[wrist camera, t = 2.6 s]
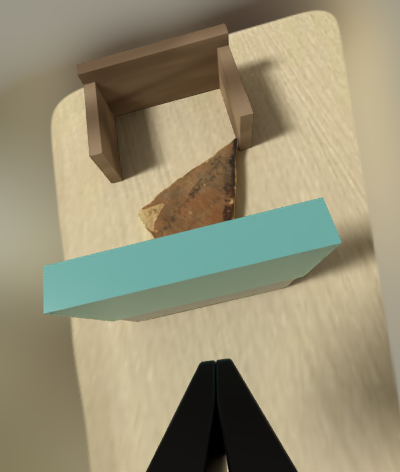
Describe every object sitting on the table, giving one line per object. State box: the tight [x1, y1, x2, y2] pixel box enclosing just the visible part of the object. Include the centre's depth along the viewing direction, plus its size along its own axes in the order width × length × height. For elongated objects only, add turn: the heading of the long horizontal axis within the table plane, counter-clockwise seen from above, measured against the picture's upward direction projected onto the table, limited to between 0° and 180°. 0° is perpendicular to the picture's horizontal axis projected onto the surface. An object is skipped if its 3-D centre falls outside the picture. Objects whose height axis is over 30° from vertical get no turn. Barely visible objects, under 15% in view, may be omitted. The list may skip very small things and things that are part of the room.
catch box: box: [77, 24, 254, 183], centre depth 24 cm, size 9×13×5 cm
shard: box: [138, 138, 238, 239], centre depth 22 cm, size 11×8×2 cm
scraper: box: [44, 198, 342, 322], centre depth 16 cm, size 2×12×10 cm, turn 102°
